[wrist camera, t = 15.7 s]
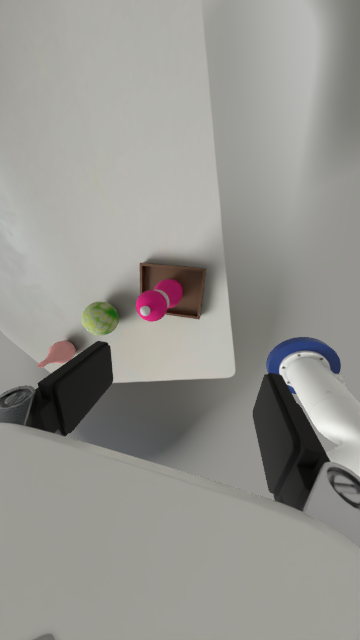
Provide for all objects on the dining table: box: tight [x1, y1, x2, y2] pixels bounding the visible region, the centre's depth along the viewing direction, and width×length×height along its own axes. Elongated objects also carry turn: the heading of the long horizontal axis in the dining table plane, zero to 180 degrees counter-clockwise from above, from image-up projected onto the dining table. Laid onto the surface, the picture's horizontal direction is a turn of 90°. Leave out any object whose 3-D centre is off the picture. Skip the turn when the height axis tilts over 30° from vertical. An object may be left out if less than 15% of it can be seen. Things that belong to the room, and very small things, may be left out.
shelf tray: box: [140, 263, 206, 319], centre depth 47 cm, size 17×13×3 cm
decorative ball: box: [82, 302, 119, 335], centre depth 50 cm, size 10×10×10 cm
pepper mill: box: [136, 279, 183, 321], centre depth 38 cm, size 7×7×20 cm
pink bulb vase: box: [38, 341, 76, 368], centre depth 58 cm, size 8×8×12 cm
